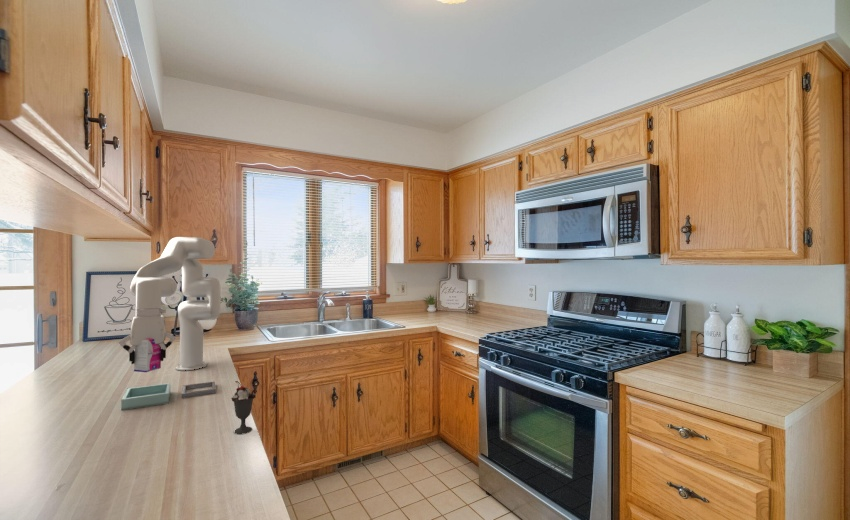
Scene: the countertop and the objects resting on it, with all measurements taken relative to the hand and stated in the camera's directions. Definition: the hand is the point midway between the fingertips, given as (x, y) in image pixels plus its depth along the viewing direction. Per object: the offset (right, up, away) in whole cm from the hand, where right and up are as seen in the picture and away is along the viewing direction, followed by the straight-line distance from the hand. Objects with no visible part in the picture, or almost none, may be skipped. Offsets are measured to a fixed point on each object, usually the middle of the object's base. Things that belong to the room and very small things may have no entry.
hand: (147, 361), depth 139 cm
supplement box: (0, -3, 0) cm, 3 cm away
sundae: (+45, -15, -23) cm, 53 cm away
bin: (0, -14, 0) cm, 14 cm away
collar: (+12, -14, +11) cm, 22 cm away
